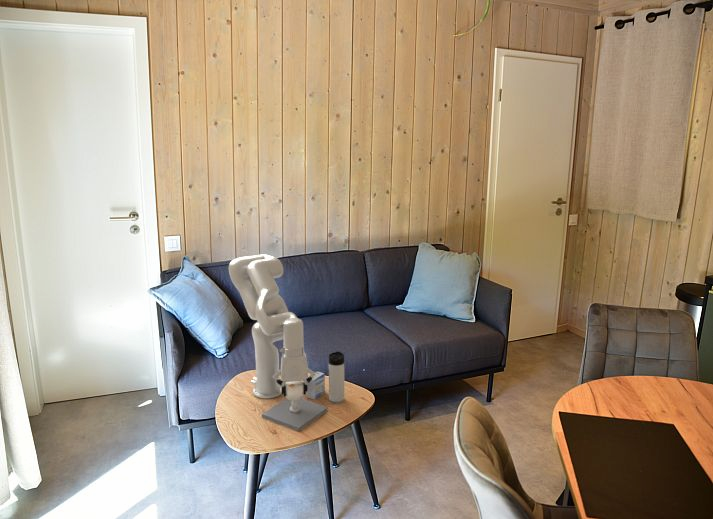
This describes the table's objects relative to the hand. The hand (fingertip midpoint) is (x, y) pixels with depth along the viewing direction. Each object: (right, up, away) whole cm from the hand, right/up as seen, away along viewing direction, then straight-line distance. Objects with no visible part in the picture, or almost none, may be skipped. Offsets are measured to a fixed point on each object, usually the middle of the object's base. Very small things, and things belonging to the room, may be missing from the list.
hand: (294, 393), depth 208 cm
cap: (0, -1, 0) cm, 1 cm away
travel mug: (+16, -6, +13) cm, 21 cm away
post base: (0, -8, +2) cm, 9 cm away
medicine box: (+7, -5, +17) cm, 19 cm away
